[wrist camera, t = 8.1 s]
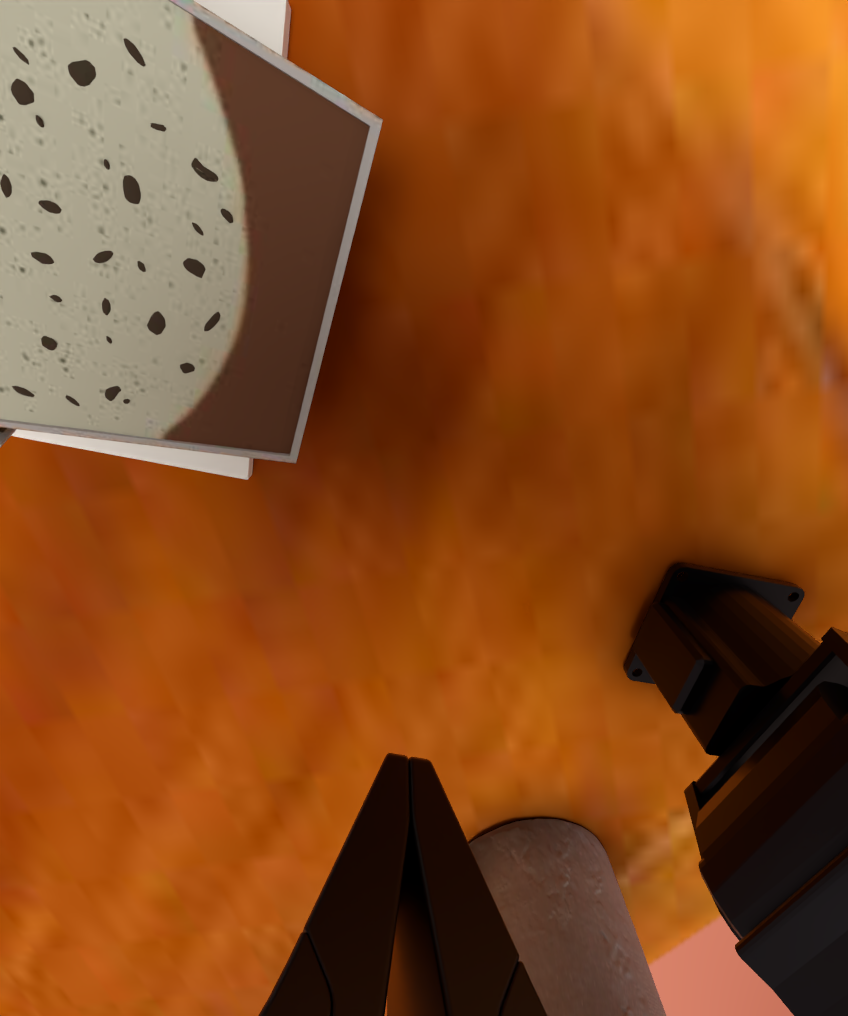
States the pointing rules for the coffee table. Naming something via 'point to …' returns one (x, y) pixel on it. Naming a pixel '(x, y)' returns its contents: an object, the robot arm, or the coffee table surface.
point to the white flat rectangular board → (265, 17)
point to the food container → (167, 226)
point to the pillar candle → (567, 919)
